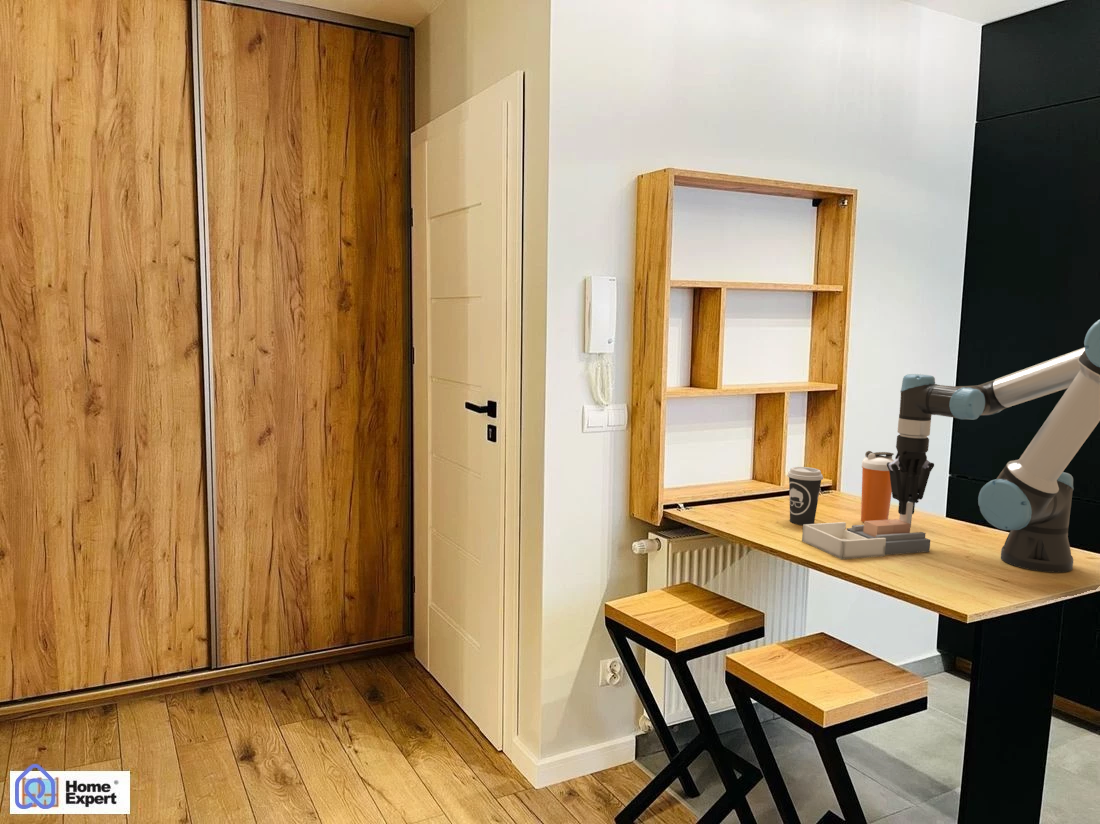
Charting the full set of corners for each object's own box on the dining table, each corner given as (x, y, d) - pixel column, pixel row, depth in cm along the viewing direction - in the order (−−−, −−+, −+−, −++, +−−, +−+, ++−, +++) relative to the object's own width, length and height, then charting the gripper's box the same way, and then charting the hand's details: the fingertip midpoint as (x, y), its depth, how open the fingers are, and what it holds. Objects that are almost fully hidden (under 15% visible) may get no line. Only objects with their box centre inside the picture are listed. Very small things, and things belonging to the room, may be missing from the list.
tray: (884, 556, 207) (886, 538, 206) (841, 559, 203) (842, 541, 202) (842, 538, 222) (844, 522, 221) (801, 541, 218) (803, 524, 217)
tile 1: (893, 536, 213) (894, 525, 213) (876, 537, 212) (877, 526, 212) (879, 531, 218) (880, 520, 218) (863, 532, 217) (864, 521, 216)
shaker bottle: (896, 526, 236) (902, 455, 233) (863, 525, 236) (869, 454, 233) (884, 518, 245) (889, 450, 242) (852, 517, 245) (858, 449, 242)
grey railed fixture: (929, 551, 212) (930, 535, 211) (882, 554, 208) (884, 538, 207) (890, 536, 225) (891, 521, 225) (846, 539, 221) (847, 523, 220)
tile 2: (909, 535, 215) (910, 524, 215) (893, 536, 214) (894, 524, 213) (896, 530, 220) (897, 519, 219) (879, 531, 218) (880, 519, 218)
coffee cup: (821, 528, 232) (825, 474, 230) (785, 525, 234) (789, 471, 232) (817, 519, 241) (821, 467, 239) (783, 517, 243) (786, 465, 241)
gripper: (923, 432, 220) (915, 521, 223) (881, 433, 216) (873, 523, 219) (945, 437, 213) (936, 529, 216) (902, 438, 209) (893, 531, 212)
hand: (904, 526), depth 218 cm, fingers closed
